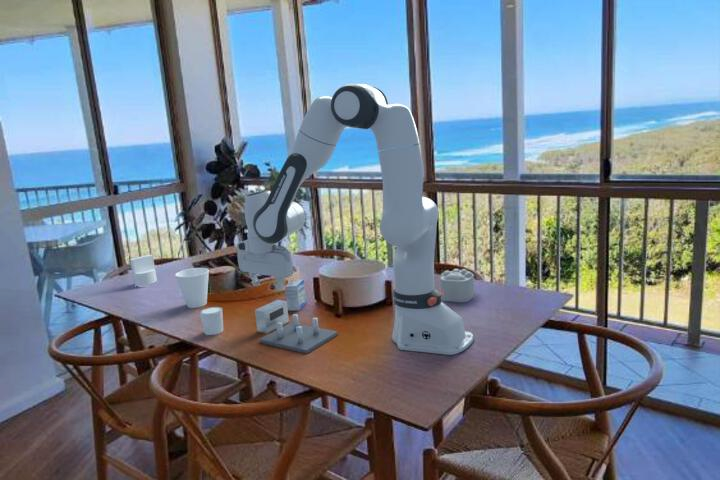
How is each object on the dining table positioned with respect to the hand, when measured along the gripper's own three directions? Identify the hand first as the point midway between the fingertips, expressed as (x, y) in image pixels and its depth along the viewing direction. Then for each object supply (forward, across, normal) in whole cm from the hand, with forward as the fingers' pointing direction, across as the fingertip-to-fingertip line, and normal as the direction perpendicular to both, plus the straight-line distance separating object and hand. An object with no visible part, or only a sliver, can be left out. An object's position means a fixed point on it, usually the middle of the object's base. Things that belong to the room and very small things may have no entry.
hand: (267, 287), depth 161 cm
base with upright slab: (+14, +86, -13) cm, 89 cm away
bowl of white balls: (+12, -42, -48) cm, 65 cm away
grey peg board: (+12, -15, +4) cm, 20 cm away
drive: (+13, -1, 0) cm, 13 cm away
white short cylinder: (+13, +14, +11) cm, 22 cm away
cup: (+14, +41, -4) cm, 44 cm away
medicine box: (+13, +4, -17) cm, 22 cm away
